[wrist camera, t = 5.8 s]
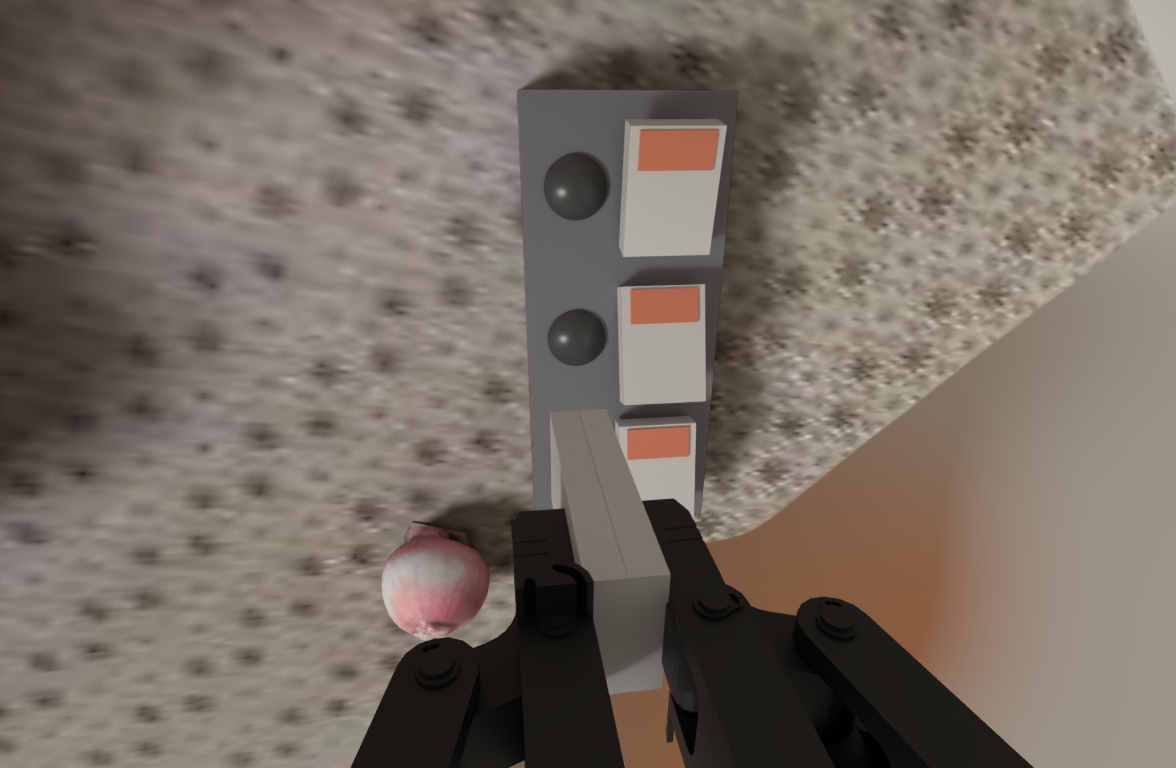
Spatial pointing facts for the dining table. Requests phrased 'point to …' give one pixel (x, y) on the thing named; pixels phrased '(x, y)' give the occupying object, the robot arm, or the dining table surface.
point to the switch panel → (600, 256)
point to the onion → (434, 582)
